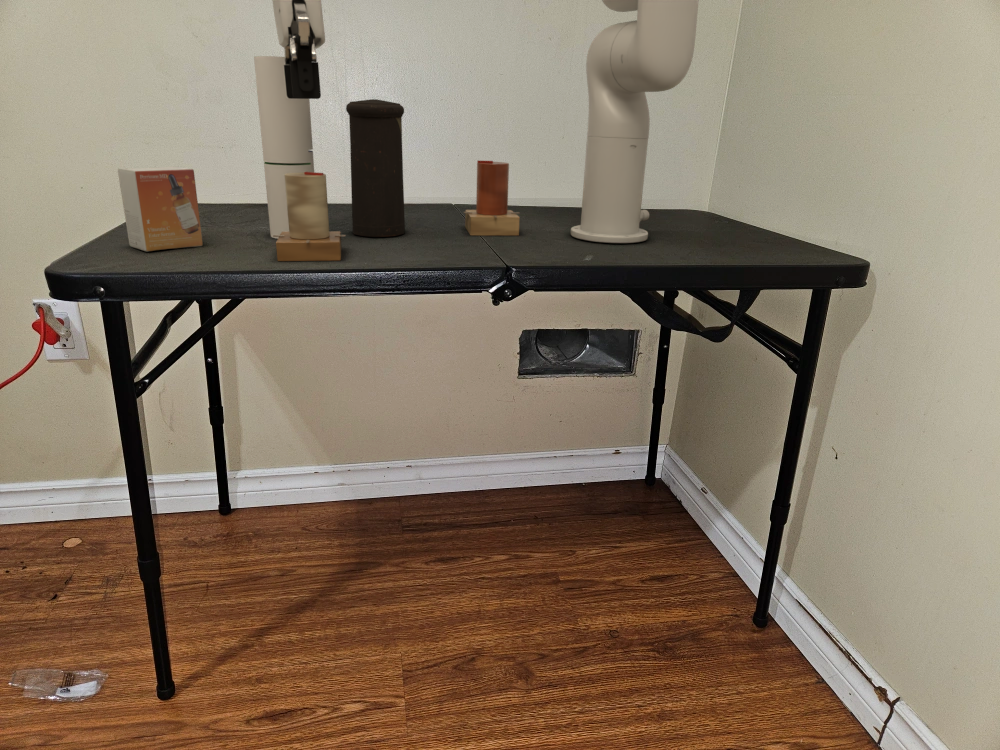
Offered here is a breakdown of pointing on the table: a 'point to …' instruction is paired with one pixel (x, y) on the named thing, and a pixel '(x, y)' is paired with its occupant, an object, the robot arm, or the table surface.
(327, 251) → the base
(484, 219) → the base
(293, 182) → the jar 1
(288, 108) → the cylindrical container
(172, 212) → the small box
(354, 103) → the container
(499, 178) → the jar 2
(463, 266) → the table surface
